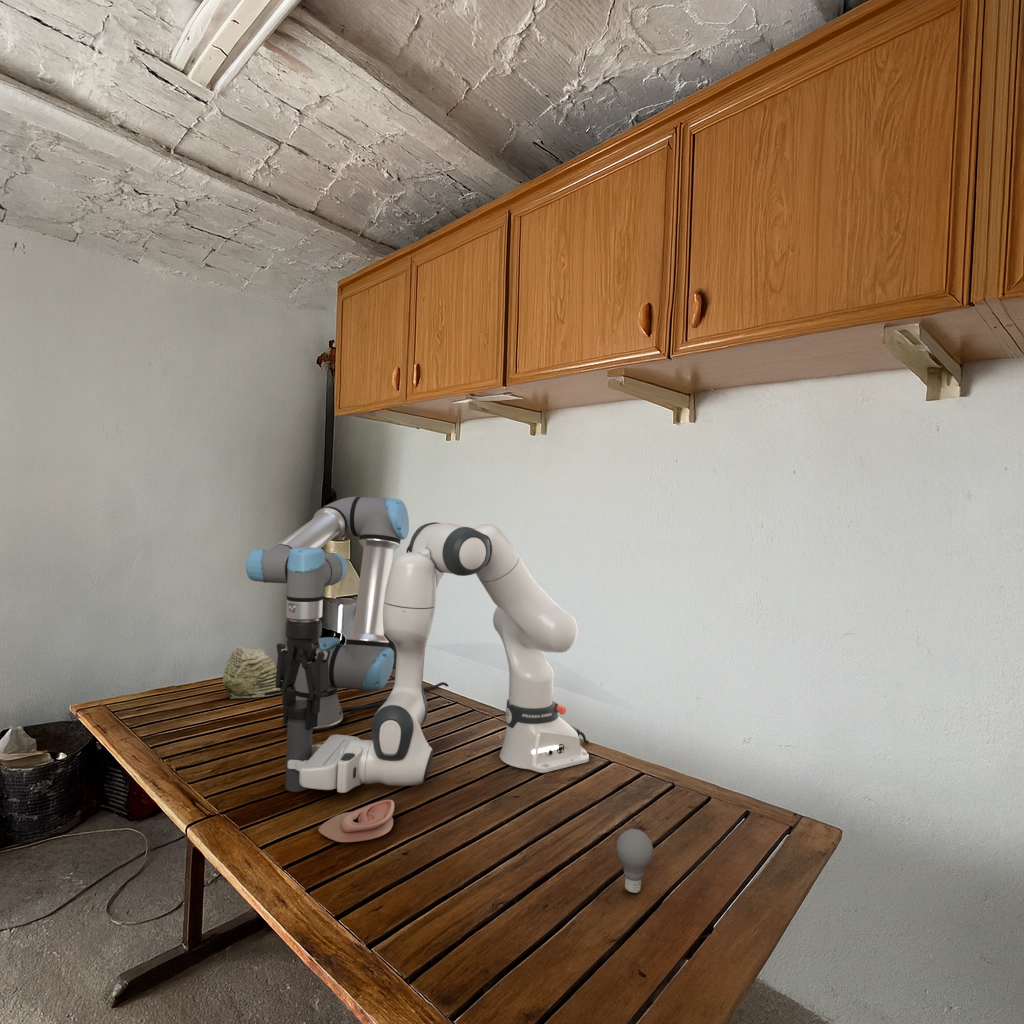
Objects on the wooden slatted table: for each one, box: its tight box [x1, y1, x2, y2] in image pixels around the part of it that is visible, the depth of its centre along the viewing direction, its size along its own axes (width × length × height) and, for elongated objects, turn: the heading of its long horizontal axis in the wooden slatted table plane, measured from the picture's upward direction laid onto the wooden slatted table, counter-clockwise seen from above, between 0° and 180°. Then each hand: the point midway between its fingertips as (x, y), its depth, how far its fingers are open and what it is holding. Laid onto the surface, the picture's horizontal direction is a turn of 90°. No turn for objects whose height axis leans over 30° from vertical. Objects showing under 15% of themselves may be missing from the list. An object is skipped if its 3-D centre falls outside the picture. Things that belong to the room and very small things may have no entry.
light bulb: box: [615, 828, 654, 894], centre depth 106 cm, size 6×6×10 cm
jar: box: [284, 719, 313, 793], centre depth 138 cm, size 5×5×17 cm
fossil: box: [222, 646, 283, 699], centre depth 198 cm, size 9×18×15 cm, turn 132°
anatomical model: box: [317, 799, 395, 843], centre depth 122 cm, size 13×4×12 cm
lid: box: [286, 700, 306, 720], centre depth 138 cm, size 6×6×2 cm
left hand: (300, 724), depth 138 cm, fingers closed on lid, 6 cm apart
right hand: (294, 757), depth 138 cm, fingers closed on jar, 5 cm apart
